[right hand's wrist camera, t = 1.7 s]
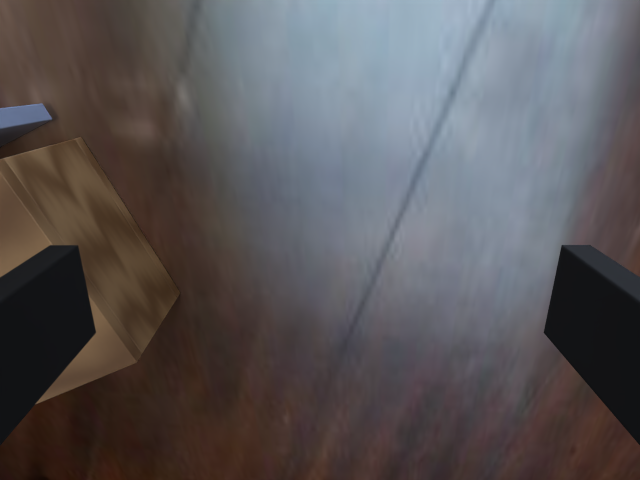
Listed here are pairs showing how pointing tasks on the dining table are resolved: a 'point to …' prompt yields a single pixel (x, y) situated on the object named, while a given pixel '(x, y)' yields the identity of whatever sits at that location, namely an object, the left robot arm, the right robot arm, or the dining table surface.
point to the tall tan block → (85, 252)
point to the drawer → (21, 121)
